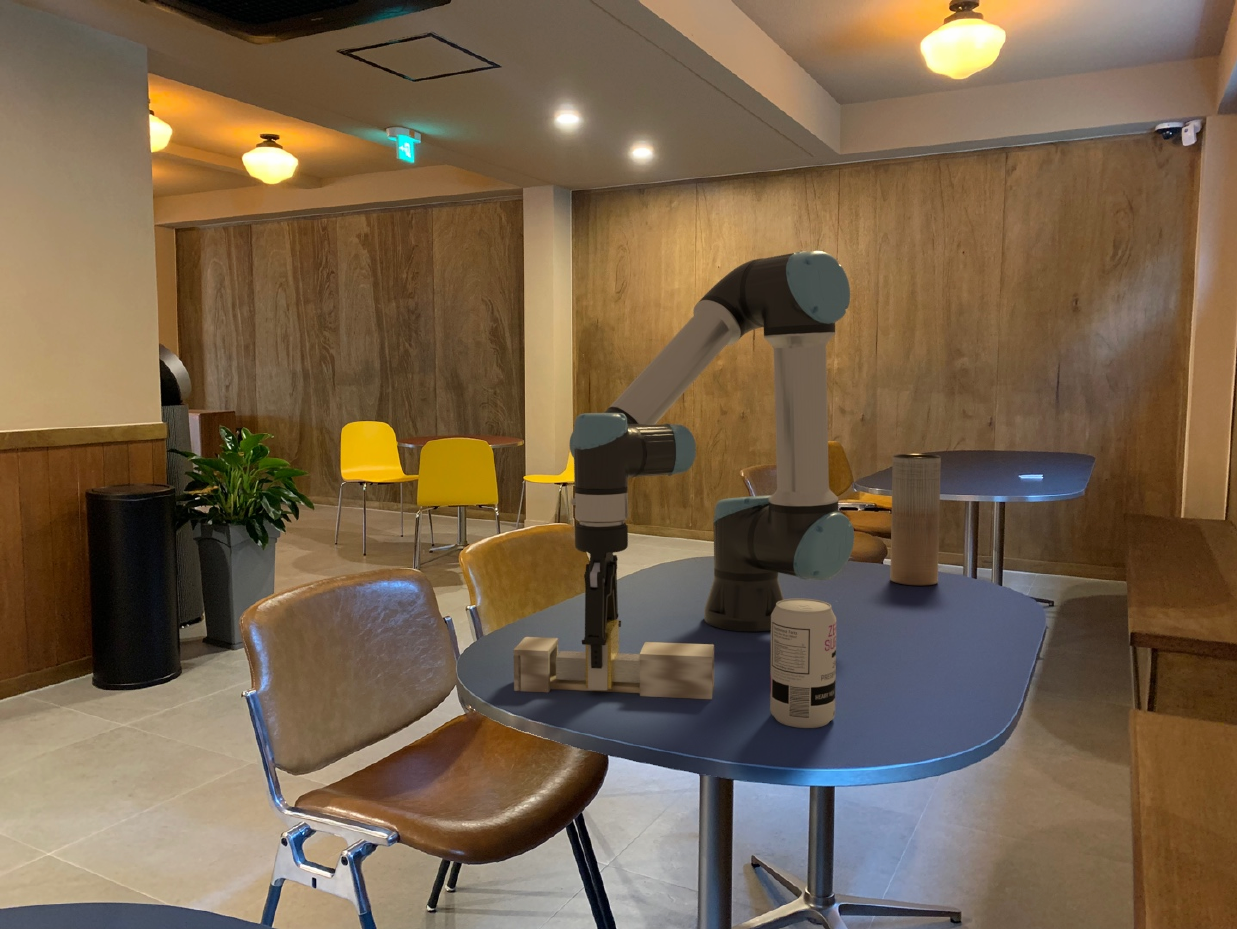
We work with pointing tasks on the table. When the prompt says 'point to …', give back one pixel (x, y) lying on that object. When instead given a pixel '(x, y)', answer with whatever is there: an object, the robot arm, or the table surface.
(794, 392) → the robot arm
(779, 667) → the supplement can
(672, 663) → the sleeve and socket
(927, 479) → the vase
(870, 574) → the table surface
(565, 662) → the golden wooden block
